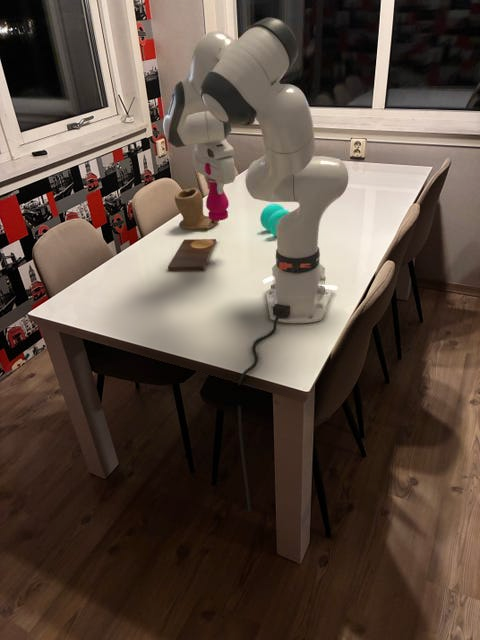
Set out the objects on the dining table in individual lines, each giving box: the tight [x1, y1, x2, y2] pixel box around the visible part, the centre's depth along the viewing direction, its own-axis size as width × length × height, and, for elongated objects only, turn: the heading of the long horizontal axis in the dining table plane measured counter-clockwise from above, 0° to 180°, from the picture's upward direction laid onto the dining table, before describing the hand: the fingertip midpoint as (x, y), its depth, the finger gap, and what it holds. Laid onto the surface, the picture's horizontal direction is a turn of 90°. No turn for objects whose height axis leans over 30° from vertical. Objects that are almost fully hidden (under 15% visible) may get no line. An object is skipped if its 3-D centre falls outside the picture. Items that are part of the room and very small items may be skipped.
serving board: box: [167, 238, 218, 272], centre depth 169 cm, size 22×12×2 cm, turn 171°
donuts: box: [259, 203, 291, 237], centre depth 178 cm, size 10×10×10 cm
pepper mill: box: [205, 163, 230, 222], centre depth 153 cm, size 7×7×20 cm
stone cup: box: [174, 187, 220, 229], centre depth 188 cm, size 15×12×15 cm
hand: (215, 191), depth 154 cm, fingers closed on pepper mill, 4 cm apart
